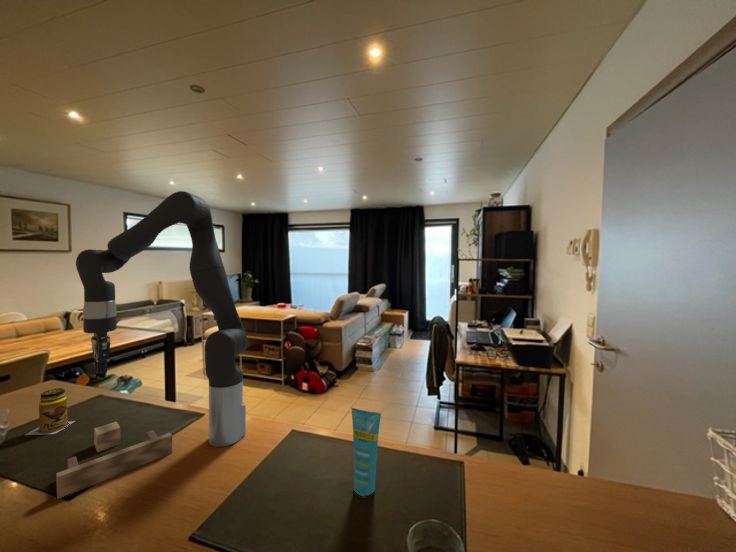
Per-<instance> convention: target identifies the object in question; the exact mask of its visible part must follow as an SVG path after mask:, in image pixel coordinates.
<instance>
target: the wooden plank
mask: <svg viewBox="0 0 736 552" xmlns="http://www.w3.org/2000/svg"><path fill="white" fill-rule="evenodd" d="M170 454H173V434H172V433H171V432H166V433H164V434H161V435H159V436H158V434H157V433H156V432H155V431H154V430H153V429H152V430H149V431H146V440H145V441H142V442H138V443H137V444H134V445H131V446H128V447H126V448H122V449H119V450H117V451H114V452H112V453H109V454H106V455H103V456H100V457H98V458H95V459H93V460H89V461H87V462H84V463H82V464H79V462H78V459H77V456H73V457H70V458H67V469H64V470H62V471H59V472H56V498H57V500H60V499H62V497H63V498H65V497H67V496H69V495H68V494H70V495H73V494H75V493H77V492H80V491H82V490H84V489H87V488H90V487H92V486H95V485H96V484H98V483H99V484H100V483H103V482H104V481H107V480H109V479H111V478H114V477H116V476H119V475H120V474H121V475H122V474H124V473H127V472H129V471H132V470H133V469H134V470H135V469H136V468H139V467H140V466H141V467H142V466H144V465H147V464H149V463H150V462H153V461H156V460H158V459H160V458H163V457H166V456H168V455H170ZM74 492H75V493H74ZM66 495H67V496H66ZM64 496H65V497H64Z"/></svg>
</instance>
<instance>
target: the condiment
mask: <svg viewBox="0 0 736 552" xmlns="http://www.w3.org/2000/svg"><path fill="white" fill-rule="evenodd" d="M65 391H66V390H65V388H62V387H58V388H52V389H48V390H44V391H43V392H42V393H40V400H39V403H38V416H39V417H38V418H39V419H38V424H39V425H38V426H39V427H36V428H34V429H33V430H31V431H29V432H27V433H26V434H24V436H32V435H33V436H35V435H38V436H39V435H41V436H42V435H43V436H44V435H55V434H57V433H59V432H60V431H63V430H65V428H64V427H66V426H67V427H69V426H70V425H72V424H73V423H75V422H76V420H72V421H68V398H67V396H66V392H65ZM67 422H68V423H69V424H70V425H69V424H68V425H69V426H68V425H67ZM67 427H66V428H67Z"/></svg>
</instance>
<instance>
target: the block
mask: <svg viewBox="0 0 736 552" xmlns="http://www.w3.org/2000/svg"><path fill="white" fill-rule="evenodd" d="M93 429H94V430H93V438H94V439H93V442H94V447H95V448H94V449H95V450H96V452H97V453H100V452H102V451H105V450H109V449H111V448H114V447H117V446H121V444H122V443H121V427H120V424H119V423H118V421H115V422H111V423H107V424H104V425H101V426H98V427H94V428H93Z"/></svg>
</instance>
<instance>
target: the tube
mask: <svg viewBox="0 0 736 552" xmlns="http://www.w3.org/2000/svg"><path fill="white" fill-rule="evenodd" d="M381 414H382V413H381V412H378V411H369V410H364V409H359V408H356V407H351V420H352V421H351V422H352V438H353V439H352V440H353V490H354V491H355V492H356V493H357V494H359V495H361V496H365V495H369V494H371V493H373V492H374V493H375V489H376V473H377V456H378V443H379V441H378V440H379V433H380V425H381V424H380V423H381V418H382V416H381ZM354 491H353V492H354ZM355 492H354V493H355ZM356 493H355V494H356ZM374 493H373V494H374ZM357 494H356V495H357Z"/></svg>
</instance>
